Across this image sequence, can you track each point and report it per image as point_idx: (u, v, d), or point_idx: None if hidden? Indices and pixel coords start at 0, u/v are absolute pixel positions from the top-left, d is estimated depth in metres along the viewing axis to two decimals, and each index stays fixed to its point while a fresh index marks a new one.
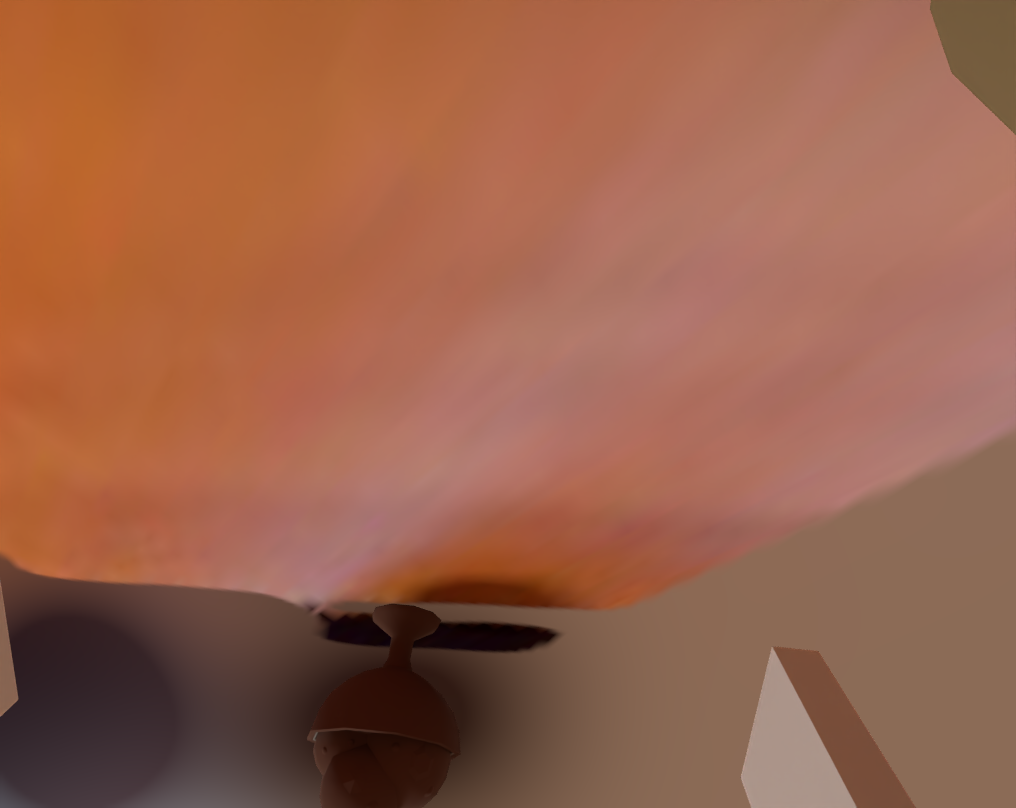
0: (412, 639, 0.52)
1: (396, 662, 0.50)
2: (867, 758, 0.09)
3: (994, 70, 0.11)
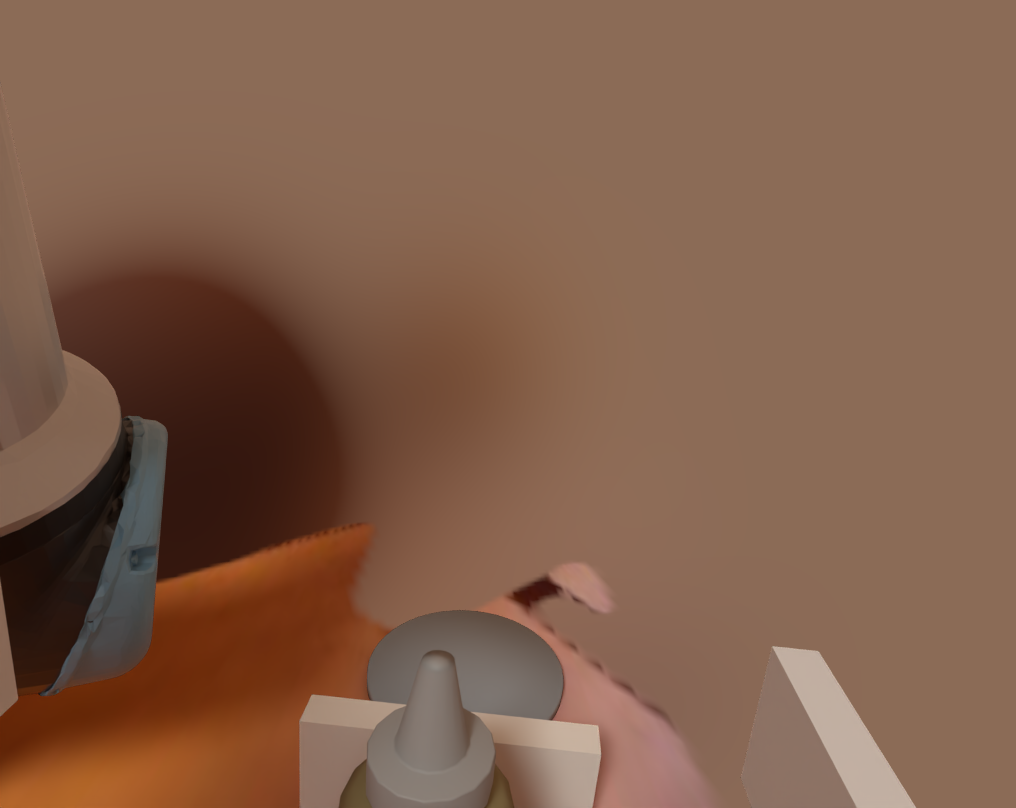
0: None
1: None
2: (867, 758, 0.09)
3: None
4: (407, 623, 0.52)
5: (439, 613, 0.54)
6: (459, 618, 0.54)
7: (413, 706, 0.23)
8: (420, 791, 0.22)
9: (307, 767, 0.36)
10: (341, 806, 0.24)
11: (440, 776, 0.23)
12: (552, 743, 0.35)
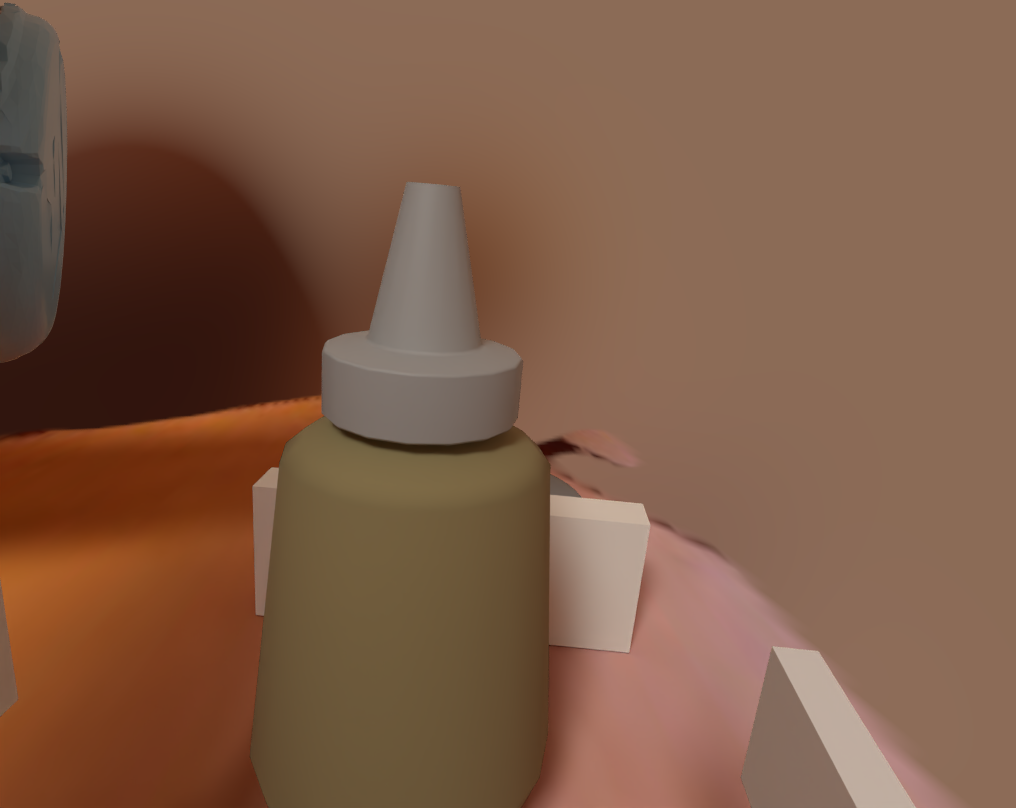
0: None
1: None
2: (867, 758, 0.09)
3: (323, 741, 0.15)
4: None
5: None
6: None
7: (394, 252, 0.14)
8: (405, 366, 0.14)
9: (264, 554, 0.28)
10: (286, 448, 0.16)
11: (438, 358, 0.14)
12: (585, 514, 0.27)
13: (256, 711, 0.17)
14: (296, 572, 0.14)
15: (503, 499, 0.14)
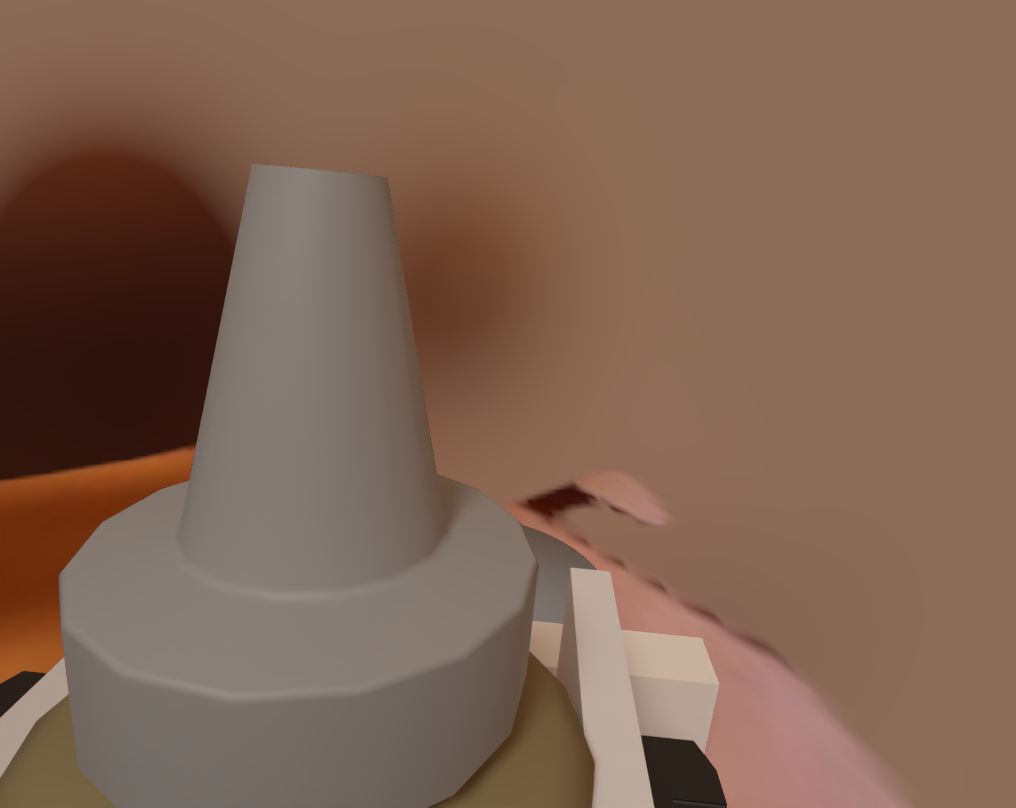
0: None
1: None
2: (608, 644, 0.11)
3: None
4: None
5: None
6: None
7: (224, 339, 0.06)
8: (228, 657, 0.05)
9: None
10: (20, 751, 0.07)
11: (327, 611, 0.06)
12: None
13: None
14: None
15: None
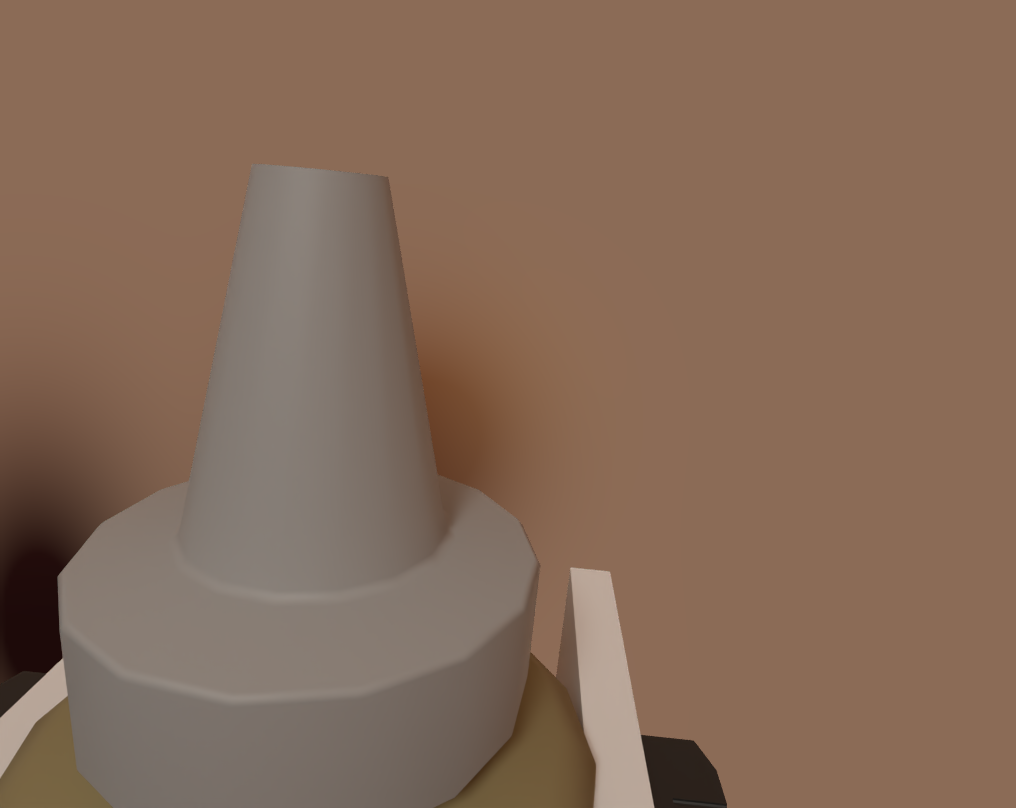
0: None
1: None
2: (608, 644, 0.11)
3: None
4: None
5: None
6: None
7: (225, 339, 0.06)
8: (228, 659, 0.05)
9: None
10: (19, 752, 0.07)
11: (328, 612, 0.06)
12: None
13: None
14: None
15: None
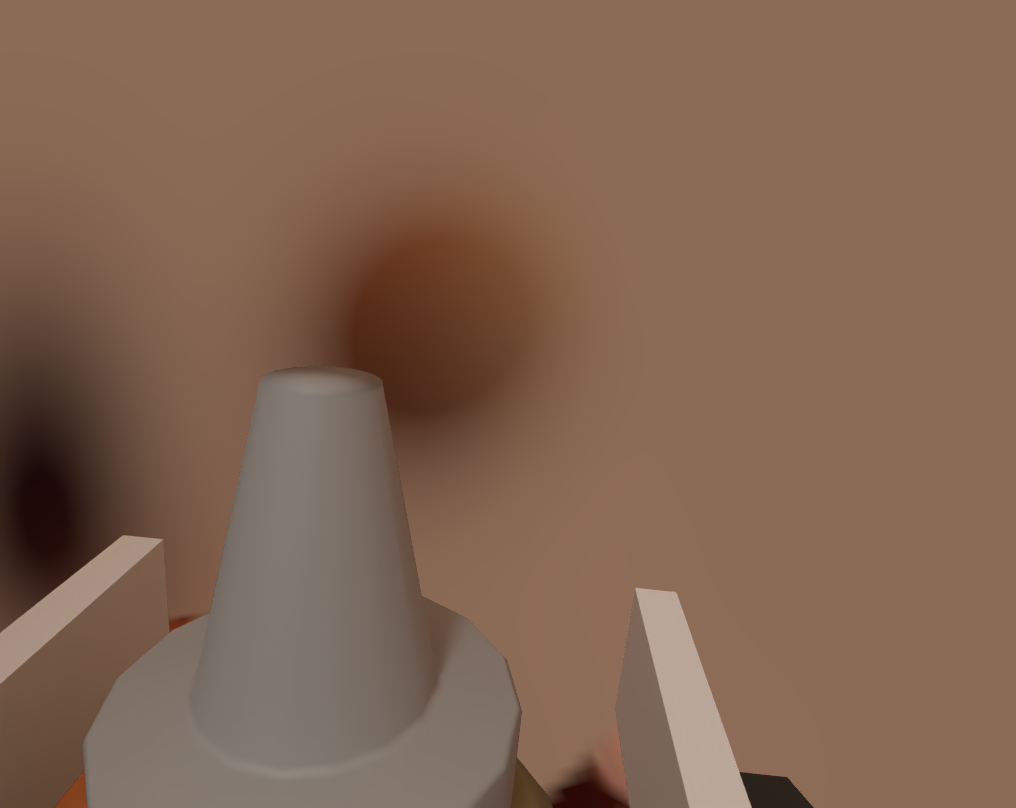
0: None
1: None
2: (688, 672, 0.10)
3: None
4: None
5: None
6: None
7: (234, 536, 0.06)
8: None
9: None
10: None
11: (327, 786, 0.06)
12: None
13: None
14: None
15: None
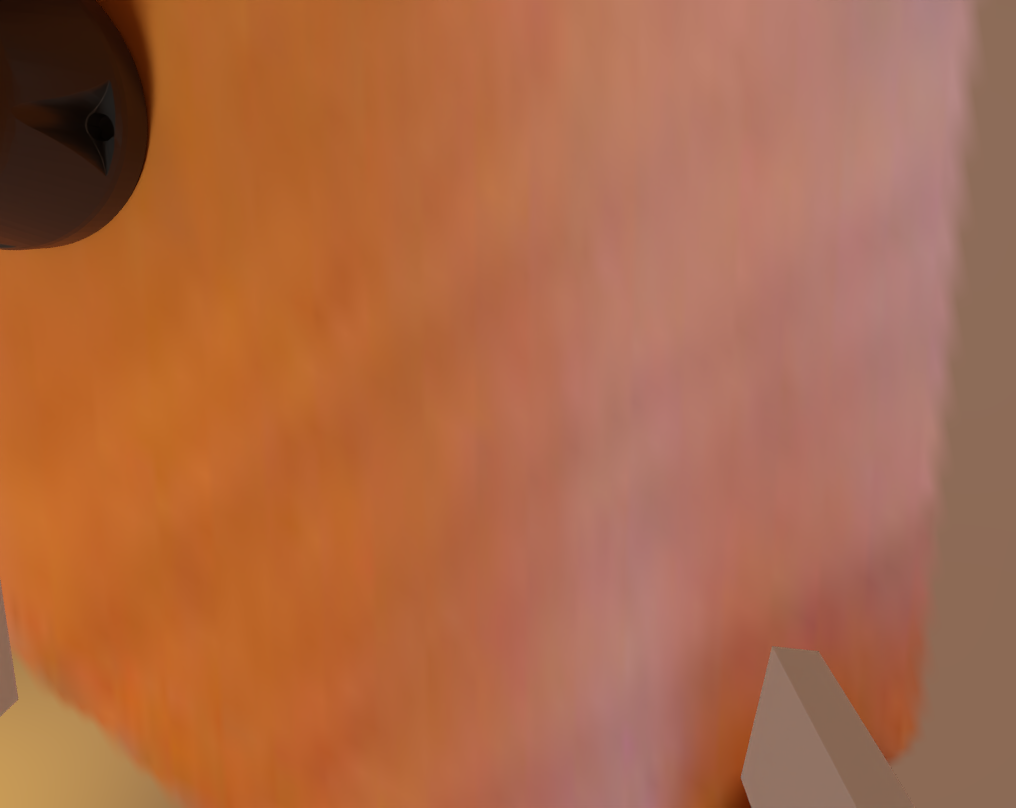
0: None
1: None
2: (867, 758, 0.09)
3: None
4: None
5: None
6: None
7: None
8: None
9: None
10: None
11: None
12: None
13: None
14: None
15: None
